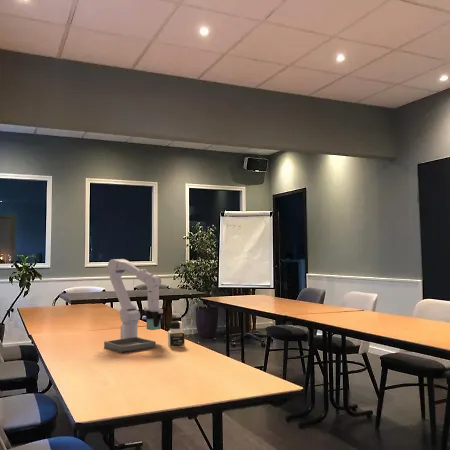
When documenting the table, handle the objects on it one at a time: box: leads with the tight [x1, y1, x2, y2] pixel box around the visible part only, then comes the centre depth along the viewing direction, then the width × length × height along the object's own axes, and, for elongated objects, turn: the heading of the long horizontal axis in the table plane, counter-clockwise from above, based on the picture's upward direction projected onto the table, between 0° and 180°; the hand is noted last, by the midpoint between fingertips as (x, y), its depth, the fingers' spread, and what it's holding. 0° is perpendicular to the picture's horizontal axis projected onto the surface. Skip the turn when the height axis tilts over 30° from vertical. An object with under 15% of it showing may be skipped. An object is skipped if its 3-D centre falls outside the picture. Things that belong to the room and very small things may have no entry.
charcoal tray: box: [103, 336, 157, 354], centre depth 224 cm, size 18×18×3 cm
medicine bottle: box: [167, 320, 186, 349], centre depth 228 cm, size 7×7×12 cm
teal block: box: [146, 318, 161, 331], centre depth 237 cm, size 5×5×5 cm
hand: (153, 326), depth 237 cm, fingers closed on teal block, 5 cm apart
